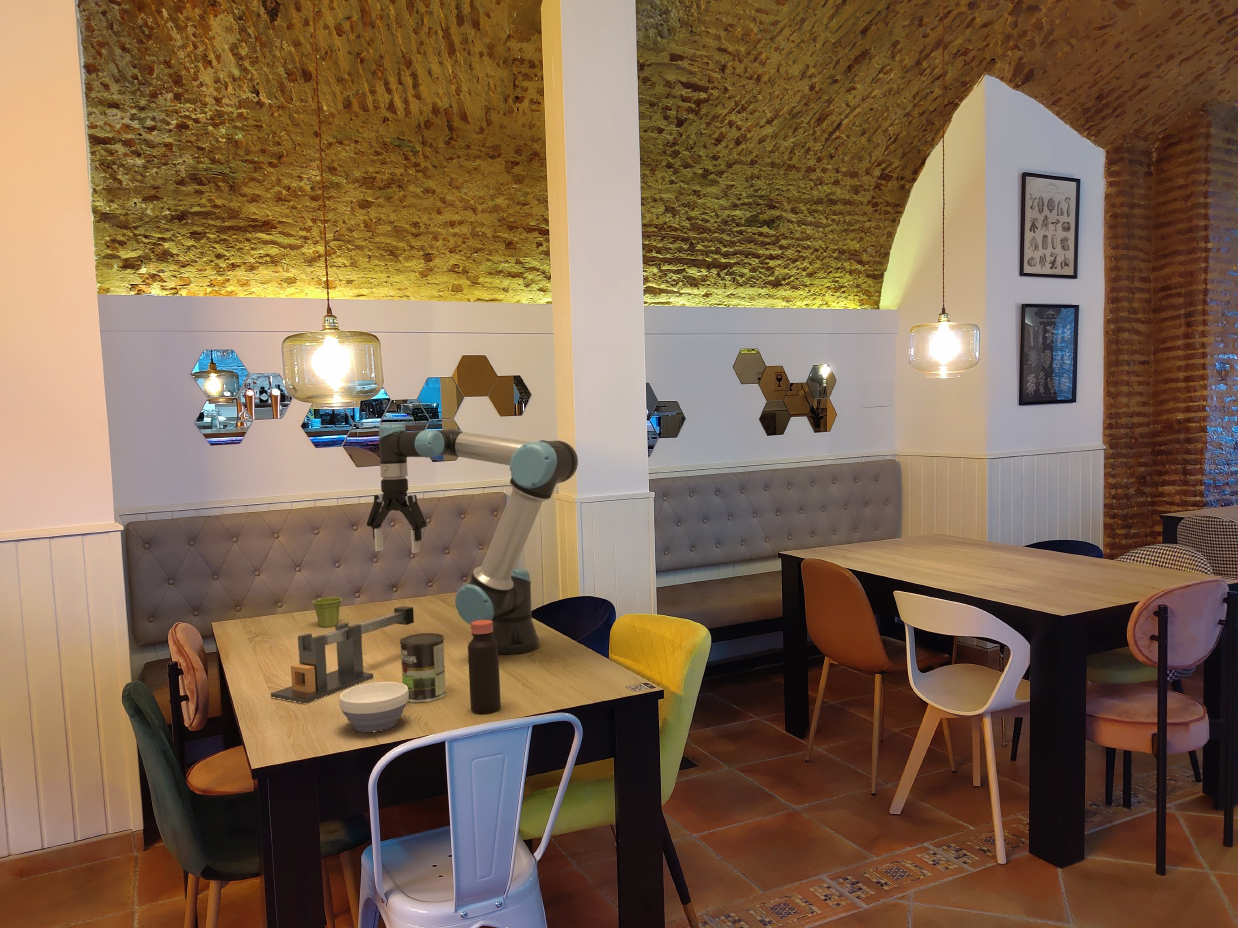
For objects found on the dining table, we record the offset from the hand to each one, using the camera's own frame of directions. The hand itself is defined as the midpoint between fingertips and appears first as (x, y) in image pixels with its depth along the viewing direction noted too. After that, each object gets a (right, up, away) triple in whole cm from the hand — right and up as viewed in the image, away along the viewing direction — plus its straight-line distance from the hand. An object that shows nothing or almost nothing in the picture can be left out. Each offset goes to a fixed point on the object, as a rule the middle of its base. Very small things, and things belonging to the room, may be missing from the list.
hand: (397, 551), depth 241 cm
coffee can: (+17, -31, -40) cm, 53 cm away
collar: (-14, -30, -36) cm, 49 cm away
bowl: (+11, -32, -59) cm, 68 cm away
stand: (-11, -31, -30) cm, 45 cm away
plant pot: (-34, -29, +40) cm, 60 cm away
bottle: (+34, -31, -51) cm, 69 cm away
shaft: (-3, -21, -17) cm, 27 cm away
